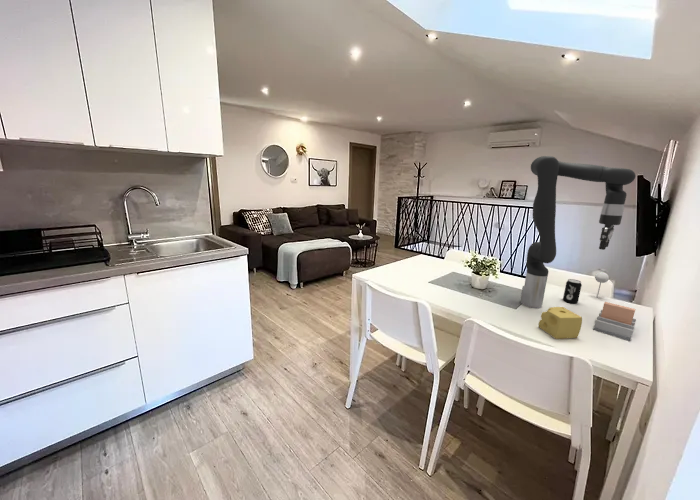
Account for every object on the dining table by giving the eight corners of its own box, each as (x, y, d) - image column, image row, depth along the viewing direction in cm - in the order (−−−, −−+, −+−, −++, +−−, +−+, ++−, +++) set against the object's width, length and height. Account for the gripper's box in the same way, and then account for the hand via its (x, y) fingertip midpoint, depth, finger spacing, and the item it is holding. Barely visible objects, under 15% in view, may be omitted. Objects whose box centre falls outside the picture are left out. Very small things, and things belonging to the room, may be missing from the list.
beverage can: (580, 304, 152) (585, 283, 149) (566, 303, 153) (570, 282, 150) (573, 299, 158) (578, 279, 155) (560, 298, 160) (564, 278, 157)
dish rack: (630, 341, 118) (632, 331, 117) (592, 329, 127) (595, 320, 126) (633, 327, 129) (636, 318, 128) (599, 317, 138) (601, 309, 137)
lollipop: (600, 300, 157) (606, 274, 154) (588, 296, 162) (593, 271, 159) (606, 298, 160) (612, 273, 156) (593, 294, 165) (599, 270, 161)
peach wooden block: (629, 332, 123) (635, 310, 121) (599, 323, 130) (604, 303, 128) (629, 330, 125) (635, 309, 122) (600, 321, 132) (605, 301, 130)
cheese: (537, 327, 129) (541, 306, 126) (559, 326, 130) (564, 306, 127) (555, 339, 119) (560, 318, 116) (579, 338, 120) (584, 317, 117)
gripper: (620, 216, 124) (611, 252, 128) (624, 213, 134) (616, 247, 138) (598, 214, 130) (590, 248, 134) (603, 212, 139) (596, 244, 143)
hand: (603, 247), depth 136 cm, fingers open, 8 cm apart
